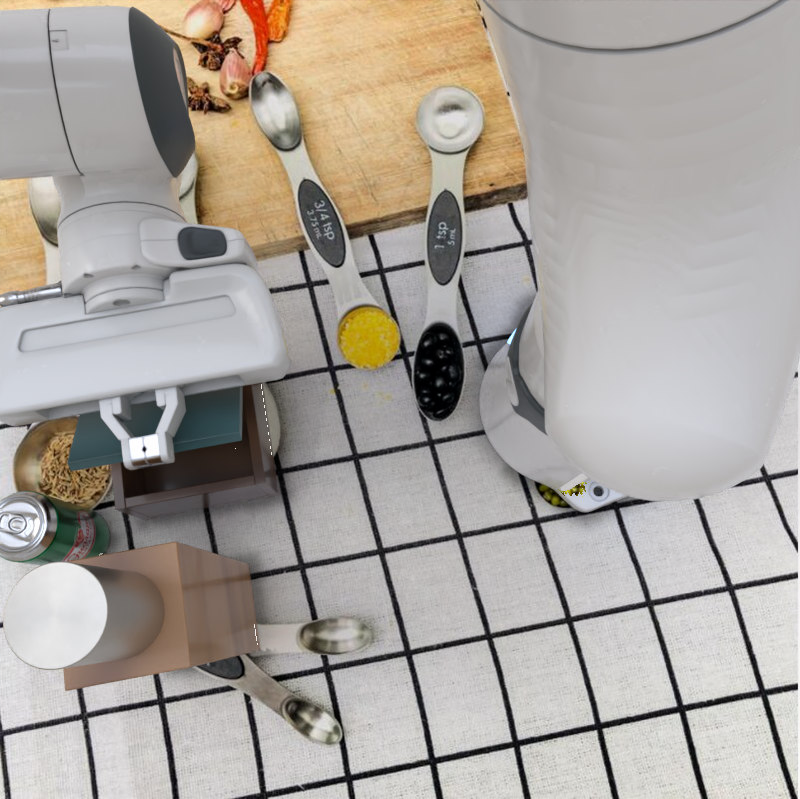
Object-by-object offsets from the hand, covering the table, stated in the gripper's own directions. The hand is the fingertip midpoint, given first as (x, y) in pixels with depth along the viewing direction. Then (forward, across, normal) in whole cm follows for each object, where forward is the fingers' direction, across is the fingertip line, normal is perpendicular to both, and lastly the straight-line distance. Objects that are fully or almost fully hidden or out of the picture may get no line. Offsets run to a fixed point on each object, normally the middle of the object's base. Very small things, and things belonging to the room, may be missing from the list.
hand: (149, 465), depth 54 cm
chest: (-6, 0, +16) cm, 17 cm away
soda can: (+1, -11, +17) cm, 20 cm away
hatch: (-6, 0, +5) cm, 8 cm away
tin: (+9, -1, -6) cm, 11 cm away
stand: (+9, -1, +16) cm, 19 cm away
